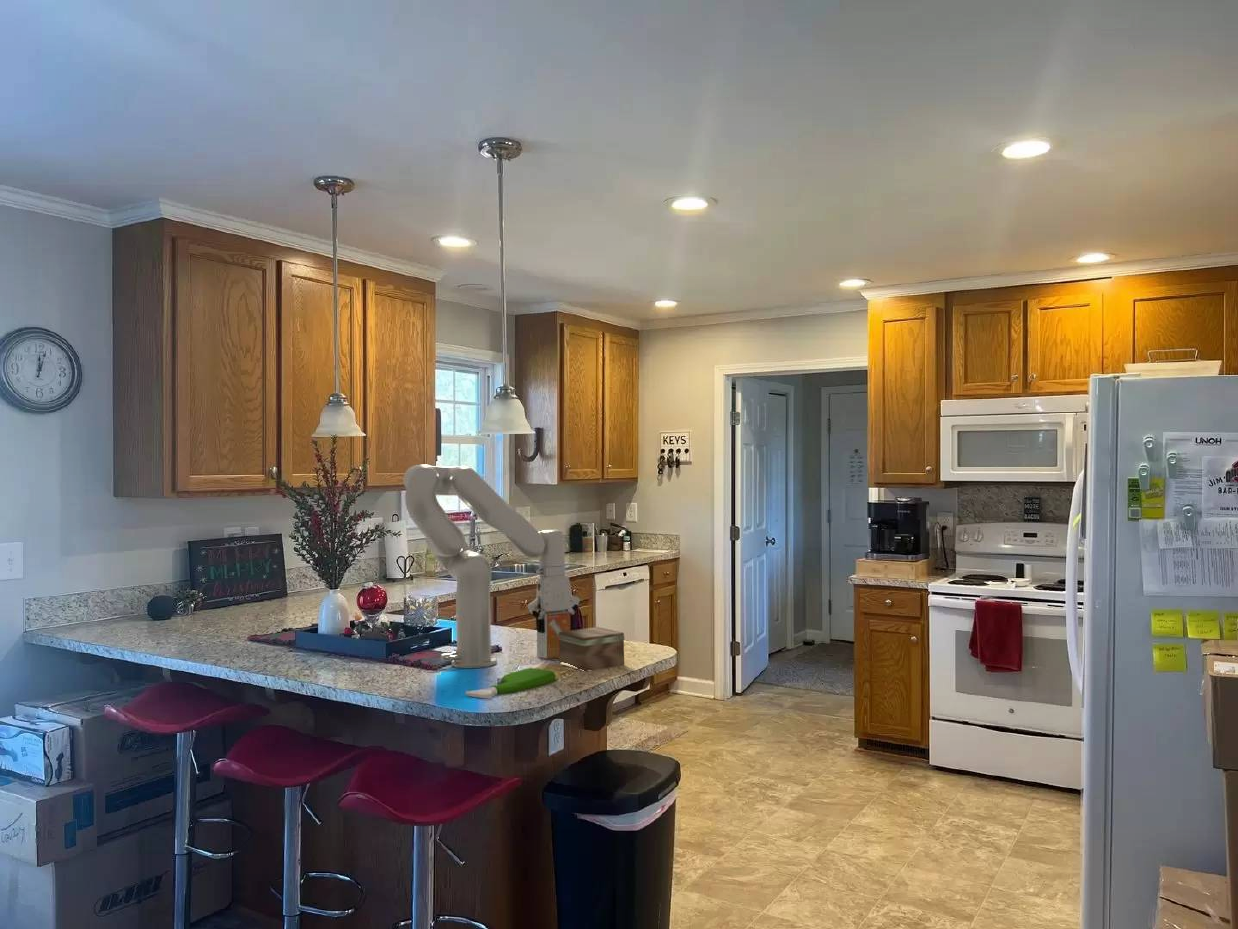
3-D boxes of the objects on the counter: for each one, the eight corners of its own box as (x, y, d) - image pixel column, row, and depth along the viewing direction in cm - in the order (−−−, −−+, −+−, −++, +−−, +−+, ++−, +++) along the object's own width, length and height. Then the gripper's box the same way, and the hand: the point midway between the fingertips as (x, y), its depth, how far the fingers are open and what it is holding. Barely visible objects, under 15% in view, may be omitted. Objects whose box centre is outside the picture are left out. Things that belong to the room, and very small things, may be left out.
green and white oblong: (559, 682, 232) (494, 704, 212) (527, 678, 238) (461, 699, 218) (559, 671, 232) (494, 692, 212) (526, 666, 238) (460, 686, 218)
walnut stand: (584, 672, 242) (584, 638, 242) (558, 664, 253) (558, 632, 253) (625, 665, 250) (624, 632, 250) (598, 658, 261) (597, 626, 261)
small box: (546, 659, 260) (546, 614, 260) (536, 656, 265) (536, 611, 266) (571, 656, 265) (570, 611, 265) (560, 653, 270) (560, 609, 270)
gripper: (533, 576, 257) (536, 636, 257) (584, 569, 267) (587, 627, 267) (520, 574, 263) (523, 632, 263) (570, 568, 273) (573, 624, 273)
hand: (555, 630), depth 265 cm, fingers open, 9 cm apart
